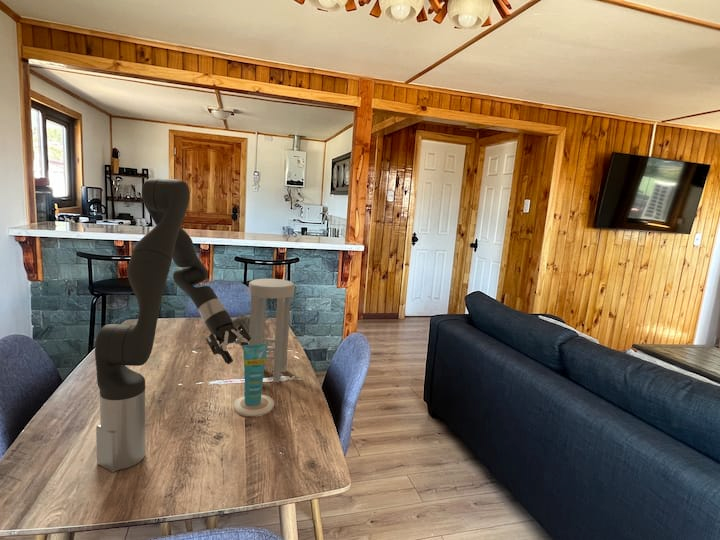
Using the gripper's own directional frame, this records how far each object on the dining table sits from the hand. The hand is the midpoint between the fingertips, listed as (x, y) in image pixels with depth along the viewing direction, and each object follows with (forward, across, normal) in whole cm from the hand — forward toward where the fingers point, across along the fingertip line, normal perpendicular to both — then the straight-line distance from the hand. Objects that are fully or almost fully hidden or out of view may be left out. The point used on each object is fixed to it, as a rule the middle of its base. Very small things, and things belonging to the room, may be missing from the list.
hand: (240, 358), depth 129 cm
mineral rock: (-22, +48, +43) cm, 68 cm away
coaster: (+14, 0, +6) cm, 16 cm away
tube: (+14, 0, +5) cm, 14 cm away
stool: (+6, +21, +14) cm, 26 cm away
